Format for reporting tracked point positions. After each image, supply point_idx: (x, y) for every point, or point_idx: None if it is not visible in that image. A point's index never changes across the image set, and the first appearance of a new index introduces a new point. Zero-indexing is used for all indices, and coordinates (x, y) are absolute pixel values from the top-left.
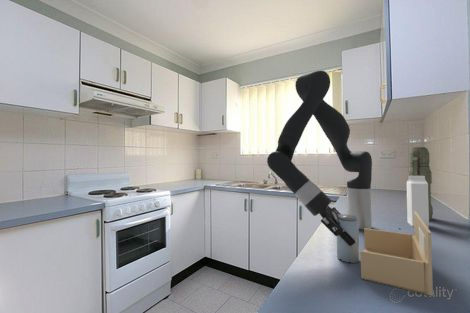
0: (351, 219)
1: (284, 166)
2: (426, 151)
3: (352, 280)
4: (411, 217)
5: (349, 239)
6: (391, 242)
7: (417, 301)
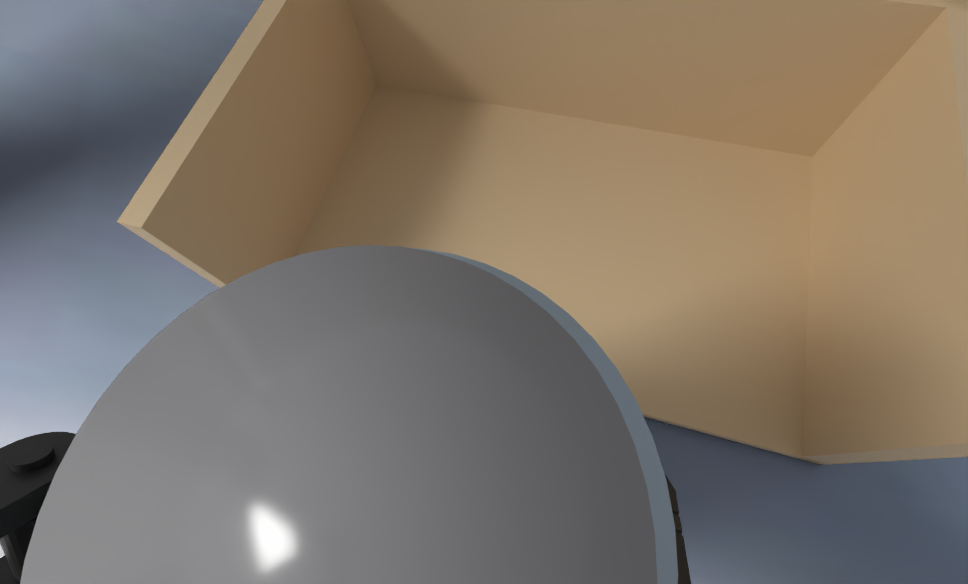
0: (626, 436)
1: None
2: None
3: (880, 542)
4: None
5: (677, 520)
6: (305, 109)
7: None
